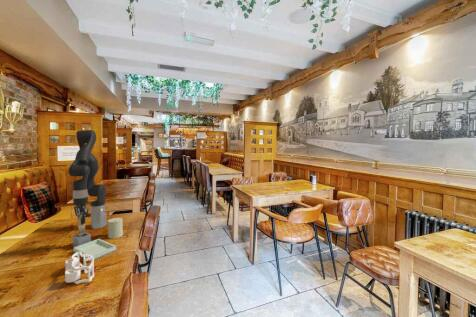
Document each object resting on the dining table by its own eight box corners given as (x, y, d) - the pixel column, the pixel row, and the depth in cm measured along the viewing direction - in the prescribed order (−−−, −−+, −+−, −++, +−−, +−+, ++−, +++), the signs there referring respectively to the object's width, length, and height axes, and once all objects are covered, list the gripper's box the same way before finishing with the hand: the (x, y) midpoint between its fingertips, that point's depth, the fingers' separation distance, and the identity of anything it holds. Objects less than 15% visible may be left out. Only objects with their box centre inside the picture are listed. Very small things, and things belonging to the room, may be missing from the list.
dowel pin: (83, 230, 134) (83, 215, 133) (86, 231, 132) (85, 216, 132) (77, 232, 131) (76, 216, 130) (80, 233, 129) (79, 217, 129)
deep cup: (85, 241, 137) (85, 232, 136) (91, 244, 133) (90, 234, 133) (73, 246, 131) (72, 236, 130) (78, 248, 127) (78, 238, 127)
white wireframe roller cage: (65, 268, 107) (65, 255, 106) (91, 261, 114) (91, 248, 113) (65, 289, 91) (64, 273, 91) (95, 279, 98) (95, 264, 98)
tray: (98, 243, 135) (98, 238, 135) (116, 250, 125) (116, 246, 125) (73, 252, 123) (73, 247, 123) (90, 262, 113) (90, 256, 113)
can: (109, 239, 140) (108, 222, 139) (106, 235, 147) (106, 218, 146) (124, 236, 146) (124, 219, 145) (121, 232, 153) (121, 216, 152)
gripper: (92, 196, 130) (93, 223, 131) (81, 193, 137) (82, 219, 138) (79, 199, 124) (80, 227, 125) (68, 196, 130) (69, 223, 132)
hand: (81, 223), depth 131 cm, fingers closed on dowel pin, 3 cm apart
